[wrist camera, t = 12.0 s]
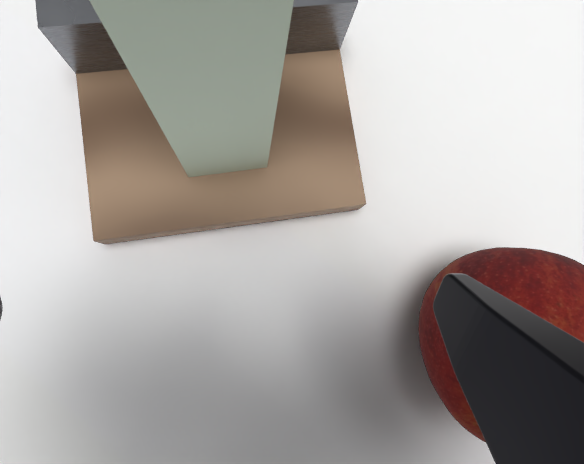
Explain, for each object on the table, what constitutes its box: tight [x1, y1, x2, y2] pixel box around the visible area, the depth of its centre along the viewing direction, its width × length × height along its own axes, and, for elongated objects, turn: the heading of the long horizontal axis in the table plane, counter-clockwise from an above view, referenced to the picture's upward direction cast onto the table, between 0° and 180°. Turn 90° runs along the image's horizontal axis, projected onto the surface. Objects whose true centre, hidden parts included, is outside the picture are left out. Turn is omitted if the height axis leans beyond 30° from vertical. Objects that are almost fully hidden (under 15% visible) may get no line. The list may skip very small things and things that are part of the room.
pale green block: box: [89, 0, 294, 177], centre depth 13 cm, size 4×4×12 cm
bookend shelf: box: [35, 0, 366, 244], centre depth 19 cm, size 9×12×5 cm
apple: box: [419, 248, 584, 442], centre depth 17 cm, size 7×8×8 cm
